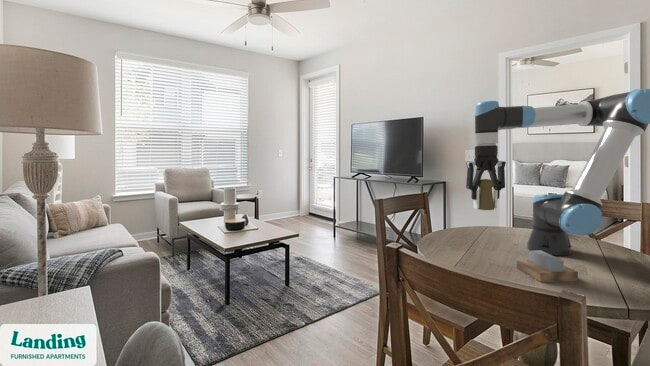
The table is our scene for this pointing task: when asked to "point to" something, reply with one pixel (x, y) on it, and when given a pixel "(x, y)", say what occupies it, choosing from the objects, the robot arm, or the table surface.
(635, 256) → the table surface
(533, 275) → the wooden flat board
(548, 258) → the slate-grey block
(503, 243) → the table surface
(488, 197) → the olive ball-ended rod
